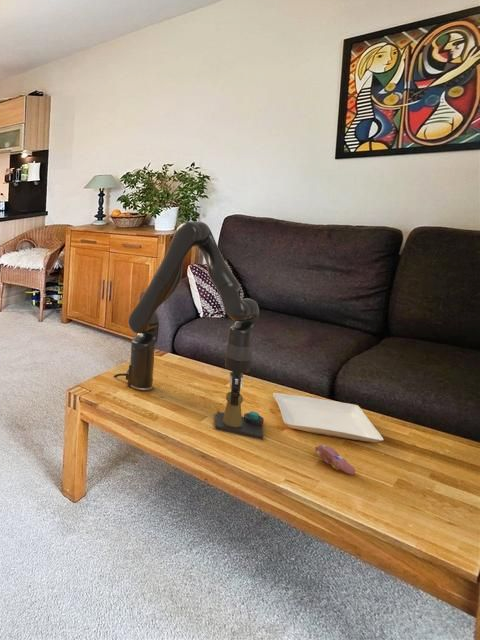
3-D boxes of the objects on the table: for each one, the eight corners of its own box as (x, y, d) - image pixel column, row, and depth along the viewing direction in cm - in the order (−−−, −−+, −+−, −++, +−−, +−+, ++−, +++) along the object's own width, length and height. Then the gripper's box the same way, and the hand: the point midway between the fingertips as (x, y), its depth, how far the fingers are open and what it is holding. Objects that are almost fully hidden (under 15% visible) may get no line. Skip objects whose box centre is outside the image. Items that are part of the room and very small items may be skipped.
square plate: (356, 413, 176) (358, 403, 176) (383, 450, 152) (385, 439, 151) (271, 399, 188) (272, 390, 187) (283, 432, 163) (284, 421, 162)
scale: (215, 429, 165) (216, 421, 165) (216, 413, 176) (217, 406, 176) (264, 440, 158) (264, 432, 158) (262, 423, 169) (263, 415, 169)
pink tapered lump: (317, 461, 148) (309, 443, 147) (330, 455, 148) (322, 437, 147) (344, 481, 139) (336, 462, 138) (358, 474, 139) (350, 455, 138)
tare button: (248, 418, 167) (249, 414, 167) (248, 415, 170) (249, 410, 169) (258, 420, 166) (259, 416, 165) (258, 417, 168) (258, 412, 168)
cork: (237, 419, 169) (239, 390, 168) (245, 427, 163) (248, 397, 162) (219, 418, 170) (222, 389, 168) (226, 426, 164) (229, 396, 162)
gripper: (226, 347, 171) (222, 390, 173) (225, 360, 159) (221, 406, 161) (250, 351, 167) (246, 394, 170) (251, 365, 155) (246, 411, 157)
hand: (234, 400), depth 165 cm, fingers open, 8 cm apart
